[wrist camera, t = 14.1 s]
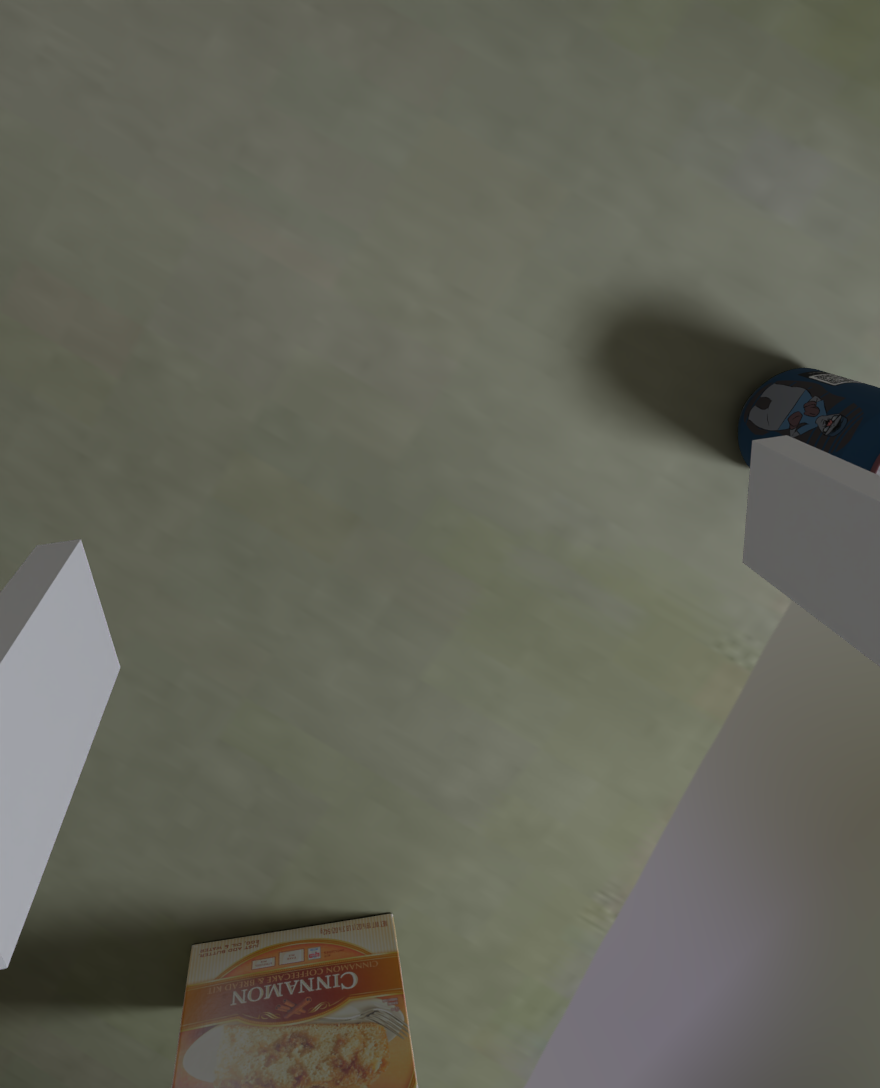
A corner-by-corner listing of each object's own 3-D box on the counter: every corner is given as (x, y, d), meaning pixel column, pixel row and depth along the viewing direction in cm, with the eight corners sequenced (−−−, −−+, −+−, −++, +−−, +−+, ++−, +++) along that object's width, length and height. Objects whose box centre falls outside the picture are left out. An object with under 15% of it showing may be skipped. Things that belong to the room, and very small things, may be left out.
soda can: (818, 471, 49) (966, 542, 39) (719, 475, 48) (844, 550, 37) (841, 362, 47) (1008, 406, 36) (737, 364, 46) (877, 411, 35)
